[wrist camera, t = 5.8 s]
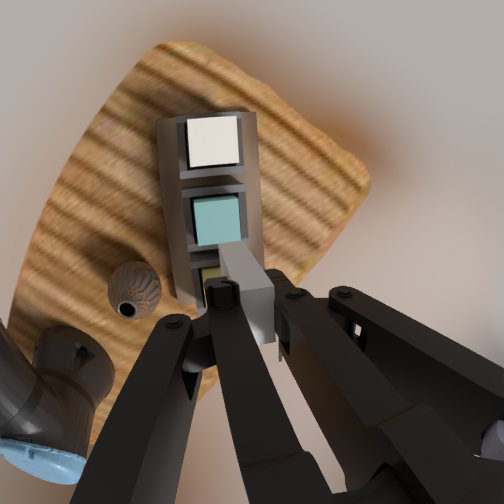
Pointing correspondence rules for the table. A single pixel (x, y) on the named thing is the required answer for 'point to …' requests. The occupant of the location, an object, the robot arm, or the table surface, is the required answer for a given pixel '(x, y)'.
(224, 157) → the plunger cream
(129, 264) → the vase
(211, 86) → the table surface
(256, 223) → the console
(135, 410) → the robot arm
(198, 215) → the plunger teal
